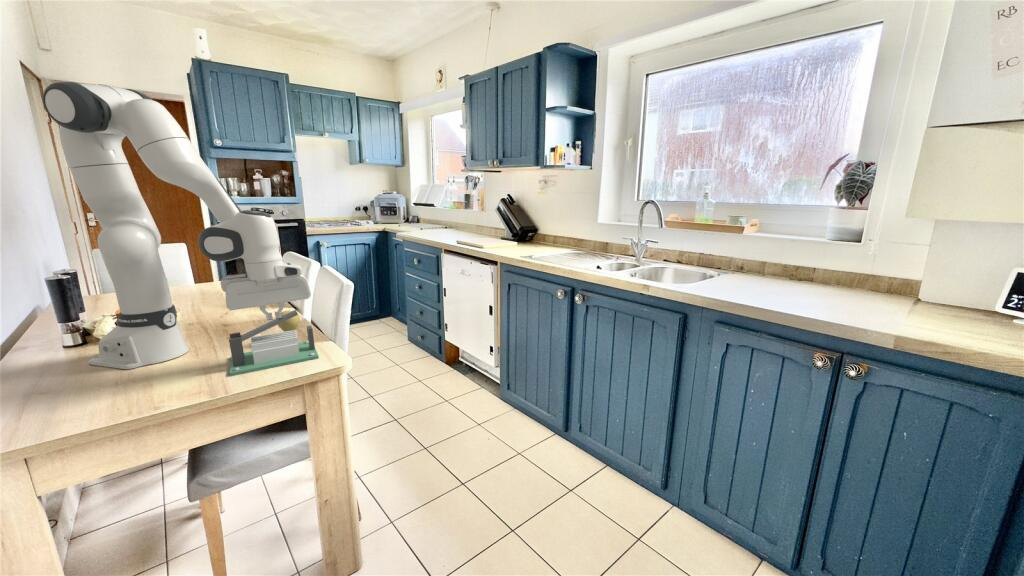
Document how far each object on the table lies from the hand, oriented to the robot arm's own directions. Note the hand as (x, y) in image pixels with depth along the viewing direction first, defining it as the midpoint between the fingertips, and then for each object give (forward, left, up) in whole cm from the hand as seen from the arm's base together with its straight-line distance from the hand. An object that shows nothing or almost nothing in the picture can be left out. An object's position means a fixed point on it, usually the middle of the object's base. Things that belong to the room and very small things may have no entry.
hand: (274, 318), depth 113 cm
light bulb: (-4, +13, -12) cm, 18 cm away
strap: (-2, -1, -2) cm, 3 cm away
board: (-1, -1, -12) cm, 12 cm away
